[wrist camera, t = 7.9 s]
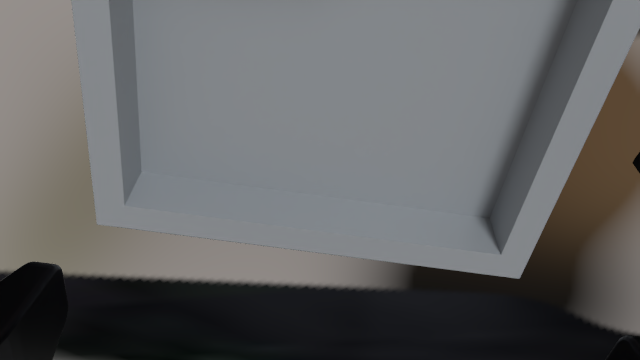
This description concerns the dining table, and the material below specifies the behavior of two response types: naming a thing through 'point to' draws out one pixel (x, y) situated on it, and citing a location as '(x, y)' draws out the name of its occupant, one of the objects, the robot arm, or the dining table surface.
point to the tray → (346, 120)
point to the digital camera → (637, 162)
